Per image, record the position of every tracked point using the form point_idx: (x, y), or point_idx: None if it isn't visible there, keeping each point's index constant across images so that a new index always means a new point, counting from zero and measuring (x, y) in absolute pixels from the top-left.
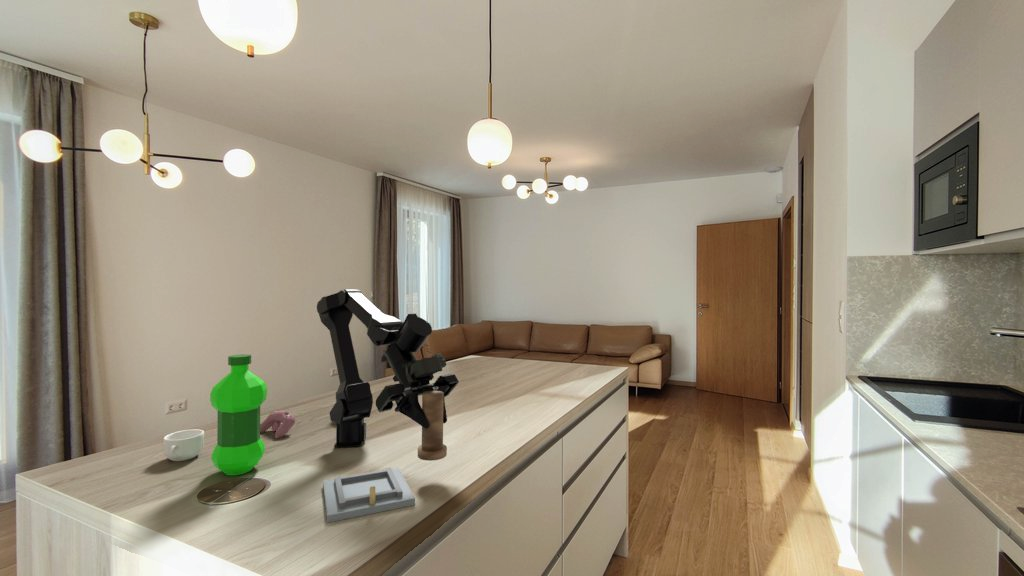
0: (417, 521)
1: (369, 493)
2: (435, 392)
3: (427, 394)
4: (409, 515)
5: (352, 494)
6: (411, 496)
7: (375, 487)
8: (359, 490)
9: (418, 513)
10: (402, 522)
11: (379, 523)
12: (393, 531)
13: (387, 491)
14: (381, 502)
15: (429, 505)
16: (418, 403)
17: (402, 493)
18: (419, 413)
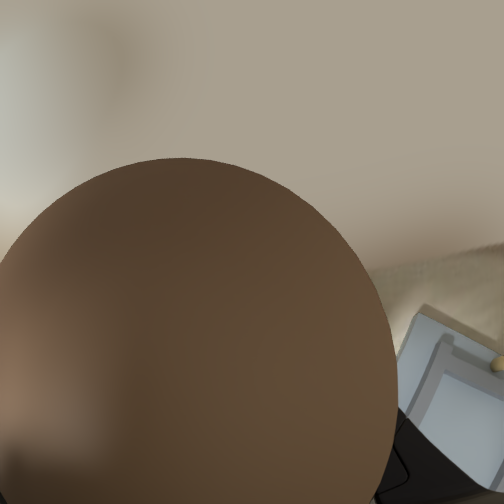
0: (446, 256)
1: (471, 425)
2: (40, 360)
3: (306, 398)
4: (446, 288)
5: (492, 449)
6: (419, 327)
7: (442, 450)
8: (473, 459)
9: (429, 279)
10: (467, 276)
11: (497, 309)
12: (490, 264)
13: (464, 373)
14: (480, 358)
15: (391, 287)
16: (389, 491)
17: (439, 342)
18: (398, 413)
